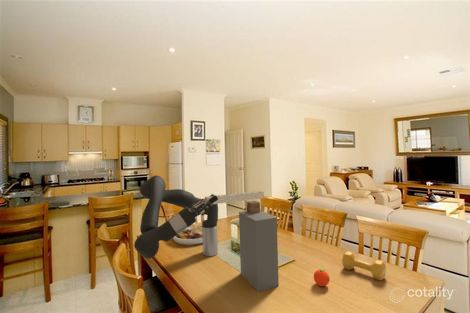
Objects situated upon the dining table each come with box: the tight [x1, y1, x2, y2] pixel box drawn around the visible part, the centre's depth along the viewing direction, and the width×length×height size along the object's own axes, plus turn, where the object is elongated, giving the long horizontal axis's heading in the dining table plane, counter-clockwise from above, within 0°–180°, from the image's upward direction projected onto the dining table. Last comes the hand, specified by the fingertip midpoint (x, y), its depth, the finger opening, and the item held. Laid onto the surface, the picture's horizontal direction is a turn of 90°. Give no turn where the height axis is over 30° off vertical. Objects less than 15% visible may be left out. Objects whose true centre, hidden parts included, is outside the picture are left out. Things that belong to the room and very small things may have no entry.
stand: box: [238, 209, 280, 293], centre depth 118 cm, size 18×11×32 cm, turn 23°
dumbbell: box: [341, 251, 387, 282], centre depth 121 cm, size 19×9×8 cm, turn 41°
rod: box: [204, 190, 265, 204], centre depth 110 cm, size 3×28×3 cm, turn 113°
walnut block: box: [246, 200, 261, 213], centre depth 123 cm, size 5×5×5 cm
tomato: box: [313, 268, 330, 287], centre depth 112 cm, size 8×7×7 cm
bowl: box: [172, 225, 203, 246], centre depth 177 cm, size 30×30×8 cm
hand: (215, 196), depth 107 cm, fingers closed on rod, 3 cm apart
